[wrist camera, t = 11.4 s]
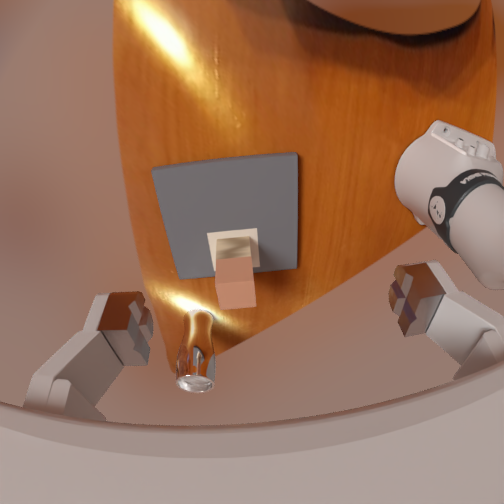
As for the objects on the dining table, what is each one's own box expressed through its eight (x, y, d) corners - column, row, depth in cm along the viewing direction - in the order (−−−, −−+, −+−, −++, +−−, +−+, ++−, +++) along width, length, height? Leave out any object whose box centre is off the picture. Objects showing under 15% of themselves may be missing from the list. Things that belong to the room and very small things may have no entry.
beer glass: (189, 332, 63) (184, 395, 51) (175, 311, 59) (167, 377, 47) (220, 326, 63) (221, 390, 51) (209, 304, 58) (206, 372, 47)
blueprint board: (295, 152, 42) (297, 155, 41) (295, 263, 54) (296, 268, 53) (153, 167, 41) (151, 170, 40) (180, 274, 54) (179, 279, 53)
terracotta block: (251, 256, 44) (253, 280, 40) (253, 282, 47) (256, 306, 43) (215, 259, 44) (215, 283, 40) (220, 285, 47) (220, 309, 43)
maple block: (249, 236, 48) (251, 256, 44) (251, 261, 51) (253, 282, 47) (216, 239, 48) (215, 259, 44) (220, 264, 51) (220, 285, 47)
